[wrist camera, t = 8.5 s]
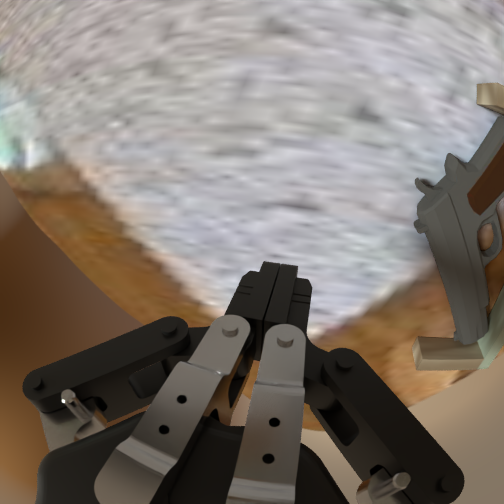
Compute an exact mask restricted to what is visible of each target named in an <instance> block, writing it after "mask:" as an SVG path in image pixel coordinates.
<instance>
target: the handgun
mask: <svg viewBox="0 0 504 504" xmlns="http://www.w3.org/2000/svg"><path fill="white" fill-rule="evenodd" d="M444 166H445V172H446V175H445V176H444V177H443V178H442V179H441V180H440V181H439V182H438V183H437V184H436V185H435V186H434V187H429V186H427V185H424V184H423V183H422V182H421V181H420V180H419V179H418V178H416V179H415V185H416V187H417V188H418V189H419V190H420V191H421V192H423V193H424V194H425V196H424V197H423V198H422V199H421V201H420V202H419V203H418V205H417V215H418V218H419V219H418V220H416V221H415V222H414V226H415V228H416V229H417V232H418V233H420V234H421V233H424V232H425V234H426V237H427V239H428V242H429V244H430V247H431V250H432V252H433V255H434V258H435V260H436V263H437V266H438V269H439V272H440V275H441V278H442V281H443V284H444V287H445V290H446V294H447V297H448V300H449V304H450V307H451V311H452V315H453V319H454V323H455V327H456V331H455V332H454V341H457V340H459V341H460V342H461V343H462V344H464V345H466V344H472V343H474V342H476V341H478V340H479V339H481V338H482V337H484V336H485V335H486V333H487V332H488V320H487V311H486V306H487V305H489V293H488V287H487V281H486V275H485V270H484V269H485V266H486V265H487V264H488V263H489V262H490V261H491V260H493V259H494V258H496V256H497V255H498V254H499V252H500V251H501V249H502V235H501V230H500V225H499V220H498V216H497V212H496V205H497V203H498V202H499V201H500V200H501V199H502V198H503V197H504V117H502V116H499V117H498V118H497V119H496V121H495V123H494V124H493V126H492V128H491V129H490V131H489V132H488V134H487V136H486V137H485V139H484V140H483V142H482V143H481V145H480V146H479V148H478V150H477V151H476V153H475V154H474V155H473V157H472V158H471V160H470V161H469V162H468V163H462V162H461V161H460V160H459V159H457V158H456V157H455V156H453V155H452V154H451V153H448V154H447V157H446V160H445V164H444ZM486 223H491V225H492V229H493V233H494V239H493V243H492V245H491V247H490V248H489V249H487V250H485V251H480V247H479V243H478V239H477V232H478V230H479V229H480V228H481V226H483V225H484V224H486Z"/></svg>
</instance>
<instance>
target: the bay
mask: <svg viewBox="0 0 504 504" xmlns="http://www.w3.org/2000/svg"><path fill="white" fill-rule="evenodd" d="M477 104H478V105H481V106H483V107H486V108H488V109H491V110H493V111H496V112H498V113H501V114H503V115H504V86H503V85H501V84H499V83H484V84H477ZM487 320H488V332H487V333H486V335H485V336H484V337H482V338H481V339H479V340H478V341H476V342H474V343H472V344H466V345H464V344H462V343H461V342H460V341H459V340H457V341H454V338H432V337H417V339H416V341H415V343H414V345H413V347H412V351H413V356H414V361H415V366H416V370H472V369H487V368H488V367H489V365H490V364H491V363H492V361H493V360H494V358H495V357H496V355H497V354H498V352H499V351H500V349H501V348H502V346H503V345H504V285H503V287H502V290H501V292H500V294H499V296H498V298H497V300H496V303H495V305H494V307H493V309H492V311H491V313H490V315H489V317H488V318H487Z"/></svg>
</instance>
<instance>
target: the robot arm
mask: <svg viewBox="0 0 504 504" xmlns="http://www.w3.org/2000/svg"><path fill="white" fill-rule="evenodd" d="M297 272H298V266H294V265H287V264H280V263H273V262H266V261H264V262H263V264H262V266H261V269H260V271H259V272H256V271H249V272H248V273H247V274H245V275H244V276H243V277H242V279H241V281H240V283H239V286H238V287H237V289H236V292H235V293H234V296H233V298H232V300H231V302H230V304H229V306H228V308H227V310H226V312H225V315H224V316H221V317H219V318H217V319H216V320H215V321H214V322H213V323H212V324H211V326H208V327H194V328H188V325H187V323H186V322H185V321H184V320H183V319H181V318H179V317H174V316H169V317H164V318H161V319H159V320H157V321H154V322H152V323H150V324H147V325H145V326H142V327H140V328H138V329H135V330H133V331H130V332H128V333H126V334H123V335H121V336H118V337H116V338H114V339H111V340H109V341H107V342H104V343H101V344H99V345H97V346H94V347H92V348H89V349H87V350H84V351H82V352H79V353H77V354H74V355H72V356H69V357H67V358H64V359H61V360H59V361H57V362H54V363H51V364H49V365H46V366H43V367H41V368H38V369H36V370H33V371H32V372H30V373H29V374H28V375H27V376H26V378H25V379H24V382H23V392H24V394H25V396H26V397H27V398H28V399H29V400H30V401H31V403H32V404H33V405H35V407H36V408H37V410H38V411H39V412H40V416H41V420H42V425H43V429H44V432H45V436H46V440H47V444H48V447H49V450H50V452H49V453H48V454H47V455H46V456H45V457H44V458H43V460H42V461H41V463H40V466H39V468H38V474H37V497H36V503H35V504H349V502H348V501H347V499H346V498H345V496H344V495H343V493H342V492H341V490H340V488H339V487H338V485H337V484H336V482H335V481H334V479H333V478H332V476H331V475H330V473H329V472H328V470H327V468H326V467H325V465H324V464H323V462H322V461H321V459H320V458H319V457H318V456H317V455H316V453H314V452H313V451H312V450H311V449H310V448H308V447H307V446H306V445H304V444H302V443H300V441H301V432H302V421H303V409H304V403H306V404H309V405H310V409H311V411H312V412H313V414H314V415H315V417H316V418H317V419H318V421H319V422H320V424H321V425H322V426H323V428H324V429H325V431H326V432H327V434H328V435H329V436H330V438H331V439H332V441H333V442H334V443H335V445H336V446H337V447H338V449H339V450H340V452H341V453H342V454H343V456H344V457H345V458H346V460H347V461H348V463H349V464H350V465H351V467H352V468H353V469H354V471H355V472H356V473H357V475H358V476H359V477H360V479H361V480H362V481H363V482H362V483H361V484H360V486H359V487H358V489H357V493H356V499H357V502H358V504H450V503H452V502H453V501H455V500H456V499H457V498H458V497H459V495H460V494H461V492H462V490H463V487H464V475H463V473H462V471H461V469H460V468H459V467H458V466H457V465H456V463H455V462H454V461H453V460H452V459H451V458H450V456H449V455H448V454H447V453H446V452H445V451H444V450H443V448H442V447H441V446H440V445H439V444H438V443H437V442H436V440H435V439H434V438H433V437H432V436H431V435H430V434H429V433H428V431H427V430H426V429H425V428H424V427H423V426H422V425H421V423H420V422H419V421H418V420H417V419H416V418H415V417H414V415H413V414H412V413H411V412H410V411H409V410H408V409H407V407H406V406H405V405H404V404H403V403H402V402H401V401H400V400H399V398H398V397H397V396H396V395H395V394H394V393H393V392H392V391H391V389H390V388H389V387H388V386H387V385H386V384H385V383H384V382H383V381H382V379H381V378H380V377H379V376H378V375H377V374H376V373H375V372H374V370H373V369H372V368H371V367H370V366H369V365H368V364H367V363H366V362H365V360H364V359H363V358H362V357H361V356H360V355H359V354H358V353H356V352H355V351H353V350H351V349H347V348H337V349H334V350H331V351H330V352H327V351H324V350H322V349H320V348H318V347H316V346H315V345H313V344H312V343H311V341H310V340H309V339H308V336H307V324H308V317H309V309H310V302H311V294H312V286H311V284H310V282H309V280H308V279H303V278H297ZM253 360H257V361H260V365H259V370H258V375H257V380H256V381H255V383H254V387H253V392H252V396H251V401H250V406H249V410H248V415H247V420H246V424H245V426H230V424H231V419H232V415H233V412H234V410H235V407H236V405H237V403H238V401H239V398H240V396H241V394H242V391H243V389H244V387H245V384H246V382H247V380H248V377H249V374H250V369H251V367H252V363H253ZM159 361H160V362H159ZM152 364H153V365H152ZM150 365H151V366H150ZM148 366H149V367H148ZM141 369H142V370H141ZM139 370H140V371H139ZM149 404H150V406H149V408H148V409H147V411H144V412H141V413H139V414H136V415H134V416H132V417H130V418H128V419H126V420H124V421H121V422H119V423H117V424H115V425H113V426H110V427H108V428H106V426H107V423H108V422H110V421H112V420H115V419H117V418H119V417H122V416H124V415H127V414H129V413H131V412H133V411H136V410H138V409H140V408H143V407H145V406H147V405H149ZM105 428H106V429H105Z"/></svg>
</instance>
